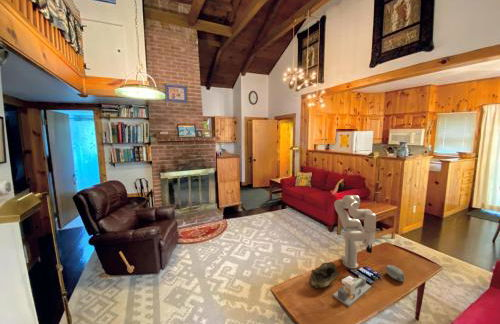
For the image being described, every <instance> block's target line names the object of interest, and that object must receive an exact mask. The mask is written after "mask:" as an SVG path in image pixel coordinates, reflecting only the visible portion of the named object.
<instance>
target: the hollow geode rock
mask: <svg viewBox="0 0 500 324" xmlns="http://www.w3.org/2000/svg"><path fill="white" fill-rule="evenodd" d="M337 268H338V266H337V265H336V264H335V263H334V262H323V263H321V264H320V266H319V267H316V268H315V269H312V270H311V274H310V278H309V279H308V283H309V286H310V287H311V288H314V289H318V290H320V289H321V288H326V287H327V286H330V284H331V283H332V282H333V281H334V280H336V279H338V278H339V275H340V272H339V271H338V270H337Z"/></svg>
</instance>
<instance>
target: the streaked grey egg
mask: <svg viewBox="0 0 500 324" xmlns="http://www.w3.org/2000/svg"><path fill="white" fill-rule="evenodd" d="M385 272H386V273H387V275H388V276H389V277H390V278H391V279H393V280H396V281H399V282H404V281H405V279H406V277H405V274H404V272H403V270H401V269H400V268H398V267H397V266H395V265H392V264H388V265H386V266H385Z"/></svg>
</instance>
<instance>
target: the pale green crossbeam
mask: <svg viewBox="0 0 500 324" xmlns="http://www.w3.org/2000/svg"><path fill="white" fill-rule="evenodd" d="M361 282H363V279H361V278H360V279H358V280H357V281H356V282H355V287H356V286H358V285H359V284H360V283H361ZM345 291H346V294H347V293H350V290H349V289H348V288H346V289H345Z"/></svg>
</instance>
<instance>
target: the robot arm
mask: <svg viewBox="0 0 500 324" xmlns="http://www.w3.org/2000/svg"><path fill="white" fill-rule="evenodd" d="M360 204H361V198H360V196H359V195H356V194H349V195H344V196H342V199H337V200H335V201H334V205H333V206H334V209H335V211H336V213H337V215H338V217H339V220H340V223H341V226H342V228H343V229H344V230H345V231H344V232H343V239H344V255H343V254H341V256H340V259H342V264H343V266H344V267H346V268H348V269H352V270H353V269H354V270H355V269H357V268H359V263H358V261H357V258H358V257H357V255H358V253H357V252H358V246H357V244H356V243H357V242H362V244H364V247H365V248H366V253H369V254H372V253H373V244H374V243H375V242H376V231H377V214H376V213H374V212H373V211H372V210H371V209H369V208H360ZM345 209H348V211H346V210H345ZM360 220H364V221H363V225H362V222H361V221H360ZM355 242H356V243H355Z"/></svg>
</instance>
